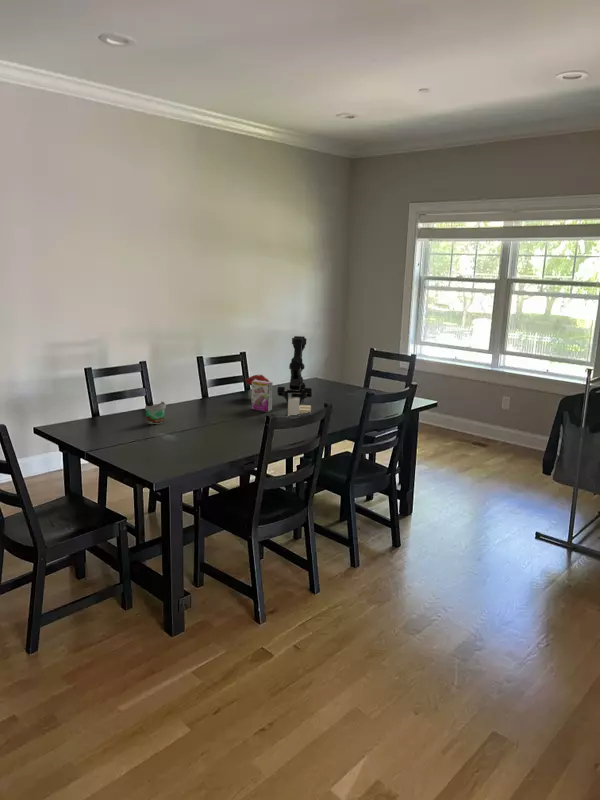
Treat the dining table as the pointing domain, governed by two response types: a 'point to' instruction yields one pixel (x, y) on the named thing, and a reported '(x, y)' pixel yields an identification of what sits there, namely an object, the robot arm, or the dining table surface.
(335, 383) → the dining table surface
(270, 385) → the candy bar box
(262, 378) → the decorative mushroom
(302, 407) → the oak block
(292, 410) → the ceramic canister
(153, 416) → the food container
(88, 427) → the dining table surface
